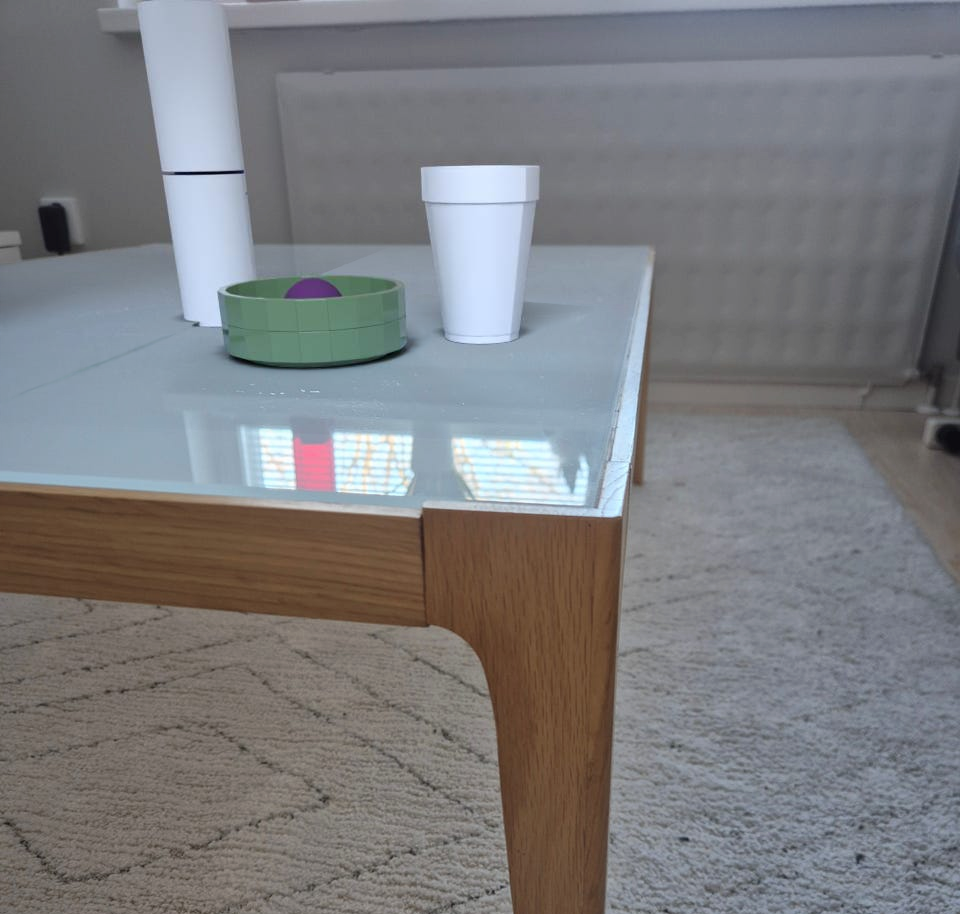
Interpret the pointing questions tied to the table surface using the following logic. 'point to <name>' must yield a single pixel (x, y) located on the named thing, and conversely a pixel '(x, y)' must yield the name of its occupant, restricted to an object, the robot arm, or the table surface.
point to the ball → (312, 289)
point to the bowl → (313, 321)
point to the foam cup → (481, 246)
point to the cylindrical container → (199, 149)
